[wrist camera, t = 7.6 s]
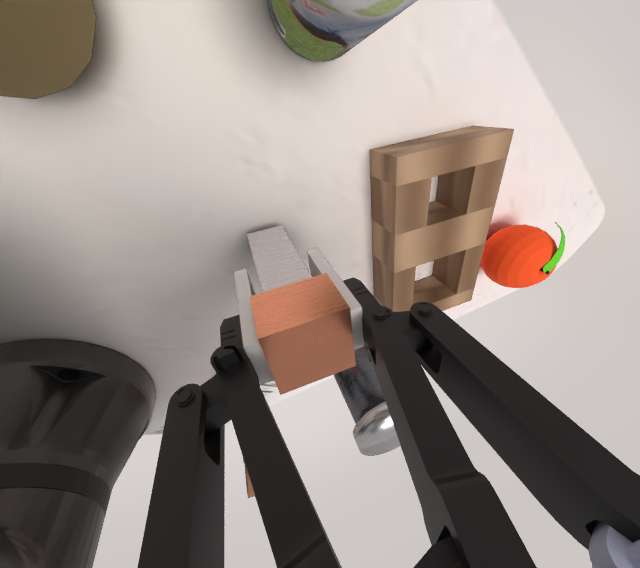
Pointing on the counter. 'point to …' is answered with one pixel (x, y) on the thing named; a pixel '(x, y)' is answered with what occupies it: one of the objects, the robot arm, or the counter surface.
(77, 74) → the squeeze bottle
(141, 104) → the counter surface
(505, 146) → the mount block
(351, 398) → the grey capped cylinder
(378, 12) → the beverage can
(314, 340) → the pin
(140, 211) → the counter surface
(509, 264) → the clementine
